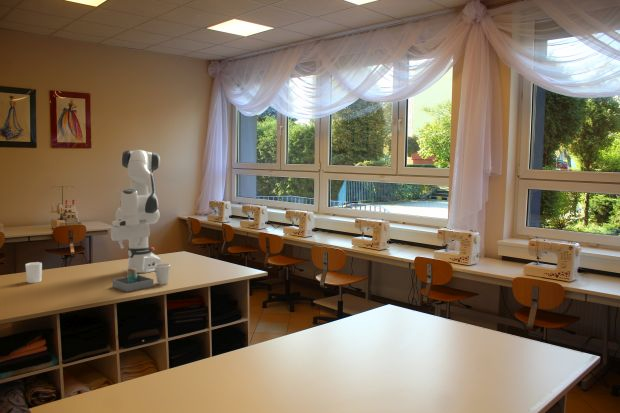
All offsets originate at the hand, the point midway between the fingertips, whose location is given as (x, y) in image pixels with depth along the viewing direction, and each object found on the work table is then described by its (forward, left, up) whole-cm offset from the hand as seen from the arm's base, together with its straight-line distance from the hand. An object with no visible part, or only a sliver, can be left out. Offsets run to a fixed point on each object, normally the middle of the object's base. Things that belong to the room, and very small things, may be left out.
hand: (131, 247), depth 259 cm
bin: (0, 0, -21) cm, 21 cm away
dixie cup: (-15, +4, -21) cm, 26 cm away
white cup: (+31, -50, -21) cm, 62 cm away
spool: (0, 0, -21) cm, 21 cm away
